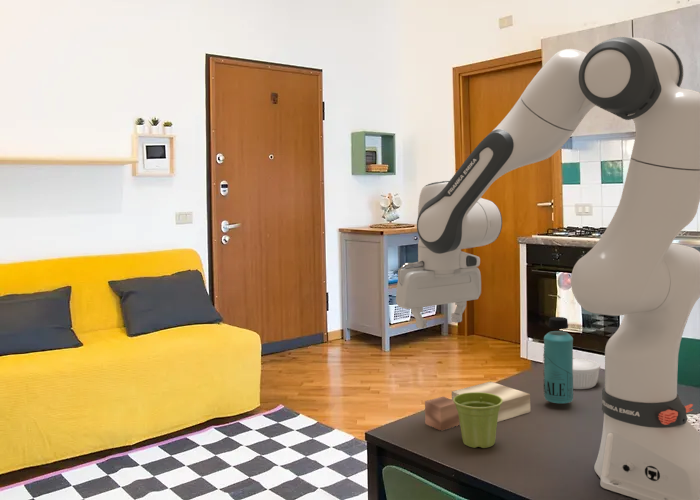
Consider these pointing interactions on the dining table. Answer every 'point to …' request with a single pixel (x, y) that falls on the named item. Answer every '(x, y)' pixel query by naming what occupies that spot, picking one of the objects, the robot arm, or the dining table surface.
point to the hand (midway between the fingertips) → (439, 324)
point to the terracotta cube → (441, 413)
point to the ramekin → (585, 373)
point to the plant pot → (478, 418)
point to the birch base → (512, 398)
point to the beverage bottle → (558, 363)
